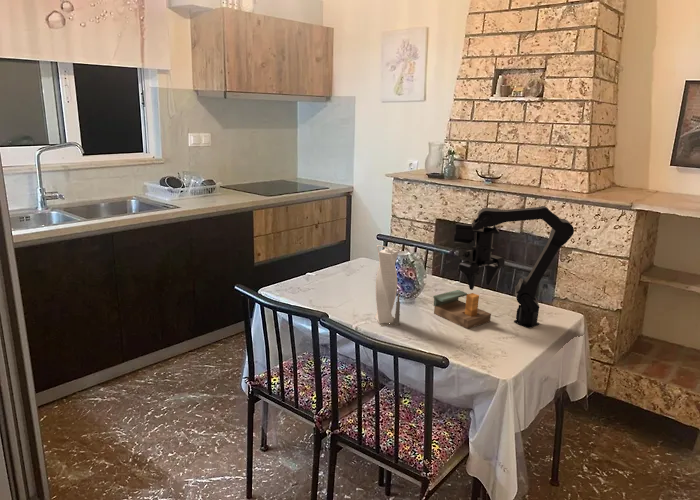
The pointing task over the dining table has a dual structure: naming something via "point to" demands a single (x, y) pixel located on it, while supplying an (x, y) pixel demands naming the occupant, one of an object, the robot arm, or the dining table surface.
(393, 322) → the skyscraper
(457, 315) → the socket board
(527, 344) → the dining table surface
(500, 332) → the dining table surface
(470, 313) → the peg
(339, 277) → the dining table surface
